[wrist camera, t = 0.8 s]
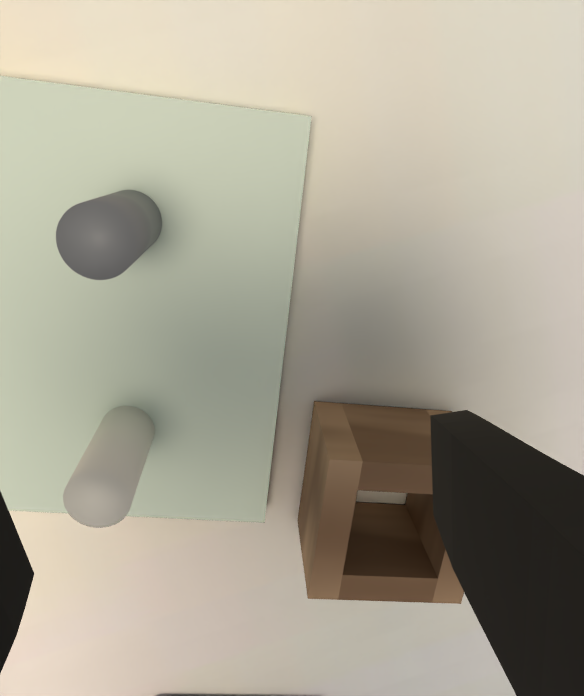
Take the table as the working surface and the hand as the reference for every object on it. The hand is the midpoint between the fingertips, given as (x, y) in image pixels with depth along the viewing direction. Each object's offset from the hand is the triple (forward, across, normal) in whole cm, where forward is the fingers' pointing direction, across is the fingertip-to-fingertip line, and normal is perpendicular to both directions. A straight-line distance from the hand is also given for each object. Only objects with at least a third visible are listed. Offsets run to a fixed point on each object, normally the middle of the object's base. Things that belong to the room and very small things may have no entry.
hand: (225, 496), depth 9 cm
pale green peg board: (+10, +3, 0) cm, 11 cm away
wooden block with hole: (+10, -4, +7) cm, 13 cm away
